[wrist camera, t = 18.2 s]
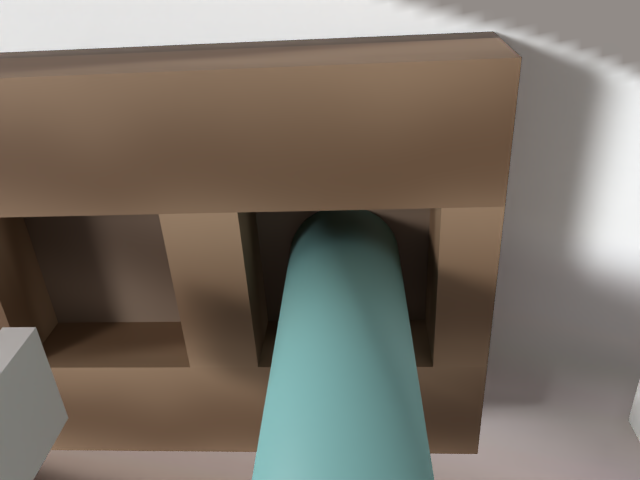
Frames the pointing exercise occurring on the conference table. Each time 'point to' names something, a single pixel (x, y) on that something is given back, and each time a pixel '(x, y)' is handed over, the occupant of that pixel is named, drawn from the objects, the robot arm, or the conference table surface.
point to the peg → (343, 361)
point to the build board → (244, 218)
